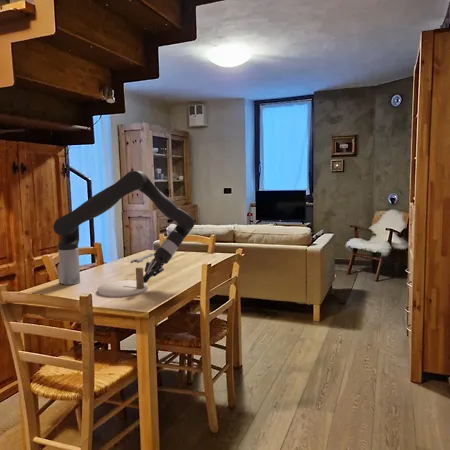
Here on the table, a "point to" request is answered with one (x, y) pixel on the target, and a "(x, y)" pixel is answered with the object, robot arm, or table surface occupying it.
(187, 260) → the table surface
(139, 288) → the dial
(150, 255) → the adjustable wrench
